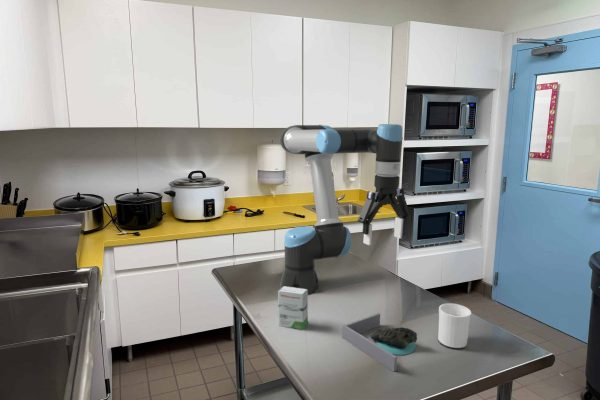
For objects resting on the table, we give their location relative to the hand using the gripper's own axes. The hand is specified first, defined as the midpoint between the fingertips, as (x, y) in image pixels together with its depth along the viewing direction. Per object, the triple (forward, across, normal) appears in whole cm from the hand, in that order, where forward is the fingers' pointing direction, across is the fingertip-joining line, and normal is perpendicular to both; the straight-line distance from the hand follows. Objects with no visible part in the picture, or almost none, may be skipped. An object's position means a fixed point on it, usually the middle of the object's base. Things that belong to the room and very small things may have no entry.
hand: (382, 240), depth 133 cm
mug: (+26, +8, -23) cm, 36 cm away
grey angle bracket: (+26, -11, -14) cm, 32 cm away
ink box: (+27, -27, +11) cm, 40 cm away
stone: (+26, -8, -15) cm, 31 cm away
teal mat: (+26, -8, -16) cm, 31 cm away
